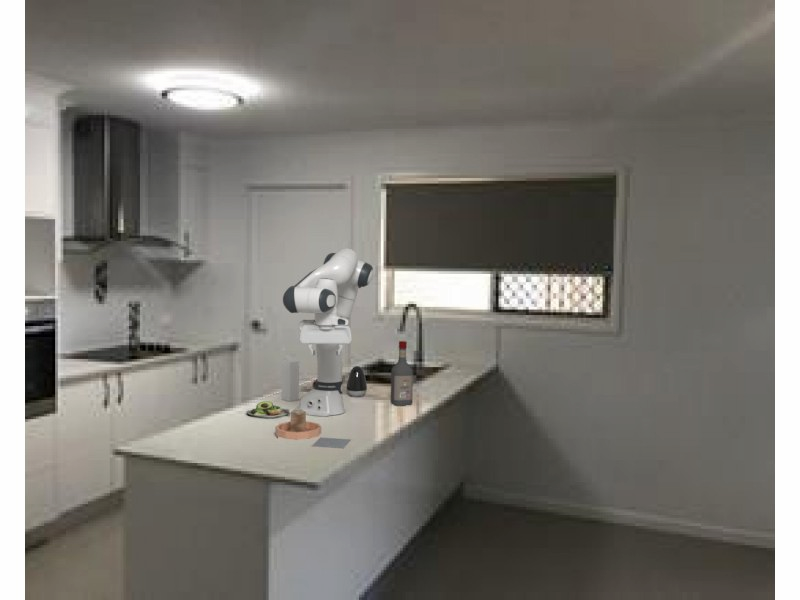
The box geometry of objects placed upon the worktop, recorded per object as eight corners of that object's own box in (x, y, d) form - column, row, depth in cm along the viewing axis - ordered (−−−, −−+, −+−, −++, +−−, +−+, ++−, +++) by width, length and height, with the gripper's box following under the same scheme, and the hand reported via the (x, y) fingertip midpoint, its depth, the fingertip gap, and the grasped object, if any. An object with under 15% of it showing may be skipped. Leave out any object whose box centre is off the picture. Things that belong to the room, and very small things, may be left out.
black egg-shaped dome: (343, 397, 327) (344, 367, 326) (350, 393, 337) (350, 363, 336) (363, 398, 324) (363, 368, 323) (369, 394, 334) (369, 365, 333)
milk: (298, 399, 320) (299, 354, 318) (289, 401, 315) (290, 355, 314) (290, 397, 324) (291, 353, 322) (281, 399, 319) (281, 354, 318)
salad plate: (301, 414, 292) (302, 403, 292) (275, 422, 277) (275, 411, 276) (268, 408, 302) (268, 398, 301) (240, 416, 286) (240, 405, 286)
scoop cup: (290, 435, 252) (290, 411, 252) (291, 431, 258) (291, 408, 257) (305, 434, 253) (305, 411, 252) (305, 431, 258) (305, 407, 258)
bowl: (269, 440, 248) (269, 430, 248) (284, 428, 265) (284, 420, 265) (313, 443, 246) (313, 433, 245) (325, 431, 262) (325, 422, 262)
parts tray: (311, 448, 238) (311, 446, 238) (320, 440, 250) (320, 437, 250) (343, 451, 236) (343, 448, 236) (351, 442, 248) (351, 439, 248)
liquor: (413, 405, 312) (415, 342, 310) (395, 406, 309) (396, 343, 307) (407, 401, 320) (408, 340, 319) (389, 402, 318) (390, 340, 316)
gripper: (298, 320, 252) (298, 356, 253) (352, 320, 254) (351, 356, 255) (299, 318, 258) (298, 353, 259) (351, 319, 260) (351, 354, 261)
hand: (325, 355), depth 257 cm, fingers open, 8 cm apart
